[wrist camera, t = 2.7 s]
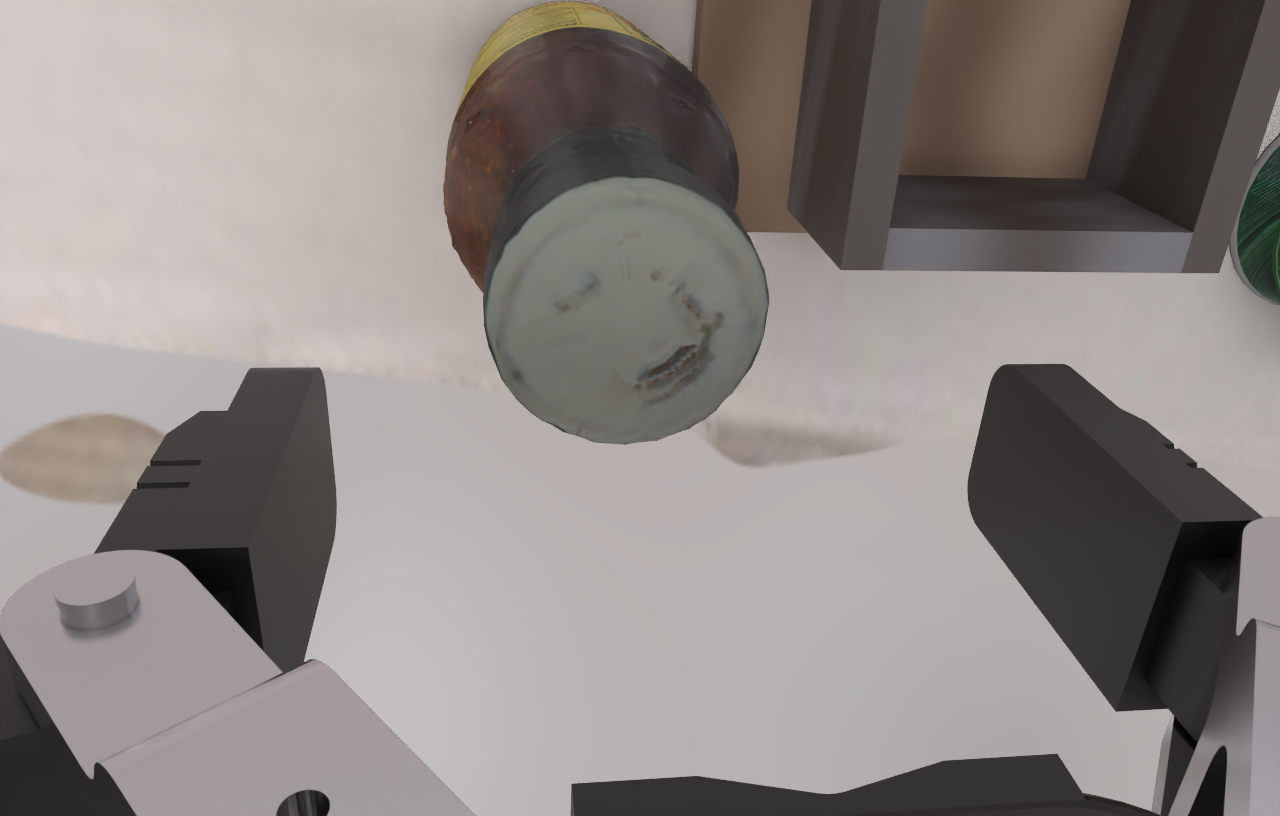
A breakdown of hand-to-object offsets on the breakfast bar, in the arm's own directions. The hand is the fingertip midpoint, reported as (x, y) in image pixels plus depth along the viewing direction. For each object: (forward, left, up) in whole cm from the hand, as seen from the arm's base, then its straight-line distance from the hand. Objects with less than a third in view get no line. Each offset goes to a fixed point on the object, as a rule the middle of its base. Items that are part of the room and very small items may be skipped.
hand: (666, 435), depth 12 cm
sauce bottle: (0, 0, -22) cm, 22 cm away
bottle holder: (-13, -3, -22) cm, 26 cm away
